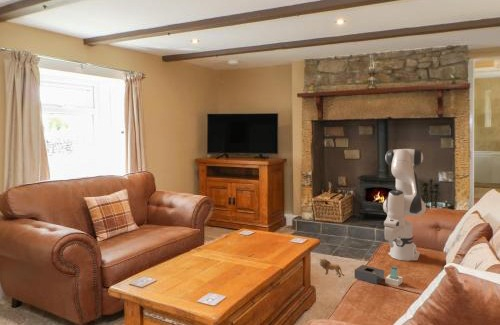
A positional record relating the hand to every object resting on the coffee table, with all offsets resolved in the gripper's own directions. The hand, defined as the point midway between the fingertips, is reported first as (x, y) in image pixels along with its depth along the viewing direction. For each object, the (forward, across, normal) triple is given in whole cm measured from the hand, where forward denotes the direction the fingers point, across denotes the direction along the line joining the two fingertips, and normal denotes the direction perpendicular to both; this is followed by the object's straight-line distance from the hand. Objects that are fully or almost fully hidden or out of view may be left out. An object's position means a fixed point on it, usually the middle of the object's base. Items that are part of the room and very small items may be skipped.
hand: (394, 245), depth 215 cm
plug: (+21, 0, 0) cm, 21 cm away
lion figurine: (+22, +12, -32) cm, 41 cm away
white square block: (+21, 0, 0) cm, 21 cm away
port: (+21, +3, -13) cm, 25 cm away
